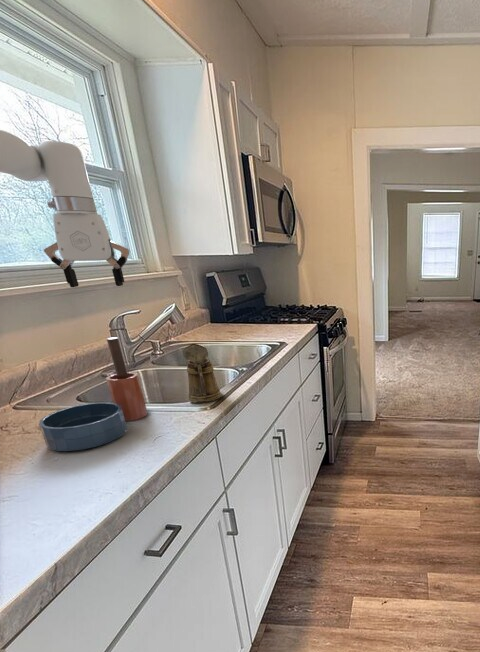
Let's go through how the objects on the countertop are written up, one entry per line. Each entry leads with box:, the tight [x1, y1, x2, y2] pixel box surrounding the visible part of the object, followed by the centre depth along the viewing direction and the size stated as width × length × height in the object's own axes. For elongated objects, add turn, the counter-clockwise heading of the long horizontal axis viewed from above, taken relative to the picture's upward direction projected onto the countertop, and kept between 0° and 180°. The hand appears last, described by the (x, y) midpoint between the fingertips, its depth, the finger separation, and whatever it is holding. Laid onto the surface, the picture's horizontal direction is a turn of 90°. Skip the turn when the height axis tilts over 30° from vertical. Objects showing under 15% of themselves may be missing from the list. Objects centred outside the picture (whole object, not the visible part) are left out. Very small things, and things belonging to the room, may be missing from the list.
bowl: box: [38, 401, 128, 452], centre depth 92 cm, size 15×15×6 cm
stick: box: [106, 336, 129, 379], centre depth 101 cm, size 2×2×20 cm
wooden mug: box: [182, 343, 222, 404], centre depth 112 cm, size 9×14×18 cm, turn 23°
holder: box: [105, 371, 148, 422], centre depth 103 cm, size 7×7×11 cm
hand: (97, 286), depth 98 cm, fingers open, 9 cm apart
